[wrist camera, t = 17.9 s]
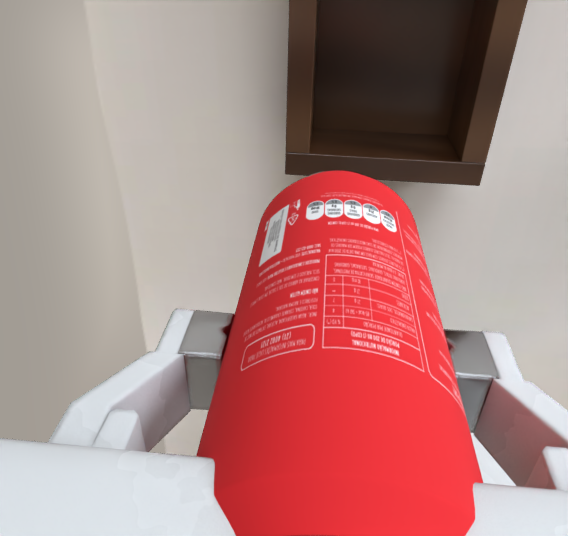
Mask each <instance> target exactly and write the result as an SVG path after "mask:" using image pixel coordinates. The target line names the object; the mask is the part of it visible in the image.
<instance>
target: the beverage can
mask: <svg viewBox="0 0 568 536" xmlns="http://www.w3.org/2000/svg"><path fill="white" fill-rule="evenodd" d="M197 456H198V457H208V458H212V459H213V460H214V462H215V472H214V496H215V498H216V500H217V502H218V504H219V505H220V507H221V509H222V511H223V512H224V514H225V516H226V518H227V519H228V521H229V523H230V525H231V527H232V529H233V530H234V533H235V535H236V536H465V535H466V534H467V532H468V531H469V529H470V528H471V526H472V524H473V523H474V521H475V504H474V495H473V484H474V483H475V482H477V483H483V480H482V476H481V472H480V468H479V464H478V460H477V457H476V453H475V449H474V445H473V441H472V437H471V434H470V430H469V426H468V422H467V418H466V414H465V411H464V407H463V403H462V399H461V395H460V391H459V388H458V384H457V380H456V376H455V372H454V368H453V365H452V361H451V357H450V353H449V349H448V345H447V342H446V338H445V334H444V330H443V326H442V322H441V319H440V315H439V311H438V307H437V303H436V299H435V296H434V292H433V288H432V284H431V280H430V276H429V273H428V269H427V265H426V261H425V257H424V253H423V250H422V246H421V242H420V238H419V234H418V230H417V227H416V223H415V220H414V218H413V215H412V213H411V211H410V210H409V208H408V206H407V205H406V204H405V202H404V201H403V200H402V199H401V198H400V197H399V196H398V195H397V194H396V193H395V192H394V191H393V190H392V189H390V188H389V187H387V186H386V185H384V184H383V183H381V182H379V181H377V180H375V179H373V178H370V177H369V176H366V175H364V174H361V173H358V172H354V171H349V170H326V171H321V172H317V173H314V174H311V175H309V176H307V177H305V178H303V179H301V180H298V181H297V182H295V183H293V184H291V185H290V186H288V187H287V188H285V189H284V190H283V191H281V192H280V193H279V194H278V195H277V196H276V197H275V198H274V199H273V200H272V202H271V203H270V204H269V206H268V207H267V209H266V210H265V212H264V214H263V216H262V218H261V221H260V224H259V227H258V231H257V235H256V238H255V242H254V246H253V249H252V253H251V257H250V260H249V264H248V268H247V271H246V275H245V279H244V283H243V286H242V290H241V294H240V297H239V301H238V305H237V308H236V312H235V316H234V320H233V323H232V327H231V330H230V334H229V338H228V341H227V345H226V349H225V353H224V356H223V360H222V364H221V367H220V371H219V375H218V378H217V382H216V386H215V389H214V393H213V397H212V400H211V404H210V408H209V411H208V415H207V419H206V422H205V426H204V430H203V433H202V437H201V441H200V445H199V448H198V452H197Z"/></svg>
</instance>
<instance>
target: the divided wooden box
mask: <svg viewBox="0 0 568 536" xmlns="http://www.w3.org/2000/svg"><path fill="white" fill-rule="evenodd" d="M527 1H528V0H289V34H288V76H287V118H286V160H285V174H289V175H306V176H309V175H311V174H314V173H317V172H321V171H326V170H349V171H354V172H358V173H361V174H364V175H366V176H369V177H370V178H373V179H375V180H390V181H407V182H424V183H441V184H458V185H475V186H479V185H480V182H481V178H482V174H483V170H484V167H485V162H486V159H487V155H488V151H489V147H490V143H491V140H492V136H493V132H494V128H495V124H496V120H497V116H498V113H499V109H500V105H501V101H502V97H503V93H504V89H505V86H506V82H507V78H508V74H509V70H510V66H511V62H512V59H513V55H514V51H515V47H516V43H517V39H518V35H519V31H520V28H521V24H522V20H523V16H524V12H525V8H526V4H527Z"/></svg>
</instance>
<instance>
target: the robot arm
mask: <svg viewBox="0 0 568 536" xmlns="http://www.w3.org/2000/svg"><path fill="white" fill-rule="evenodd" d="M234 316H235V315H234V314H232V313H221V312H211V311H200V310H196V311H195V310H187V309H175V310H174V311H173V312H172V314H171V317H170V319H169V321H168V323H167V326H166V328H165V330H164V332H163V335H162V337H161V339H160V341H159V344H158V346H157V348H156V351H155V352H150V351H149V352H148V353H146V354H145V355H143V356H142V357H140V358H139V359H137V360H135V361H134V362H132V363H131V364H129V365H128V366H126V367H125V368H123V369H122V370H120V371H119V372H117V373H116V374H114V375H113V376H111V377H110V378H108V379H106V380H105V381H103V382H102V383H100V384H99V385H97V386H96V387H94V388H93V389H91V390H90V391H88V392H87V393H85V394H84V395H82V396H81V397H79V398H78V399H76V400H74V401H73V402H71V403H70V405H69V406H68V408H67V410H66V412H65V413H64V415H63V417H62V419H61V420H60V422H59V424H58V426H57V427H56V429H55V431H54V433H53V434H52V436H51V438H50V440H49V441H48V443H47V442H36V441H25V440H15V439H4V438H0V536H236V535H235V533H234V530H233V529H232V527H231V525H230V523H229V521H228V519H227V518H226V516H225V514H224V512H223V511H222V509H221V507H220V505H219V504H218V502H217V500H216V498H215V496H214V472H215V462H214V460H213V459H212V458H208V457H198V456H187V455H176V454H165V453H155V452H149V451H150V450H151V449H152V448H153V447H154V446H155V445H156V444H157V443H158V442H159V441H160V440H161V439H162V438H163V437H164V436H165V435H166V434H167V433H168V432H169V431H170V430H172V429H173V428H174V427H175V426H176V425H177V424H178V423H179V422H180V421H181V420H182V419H183V418H184V417H185V416H186V415H187V414H188V413H189V412H190V411H191V410H190V409H203V410H209V408H210V404H211V400H212V397H213V393H214V389H215V386H216V382H217V378H218V375H219V371H220V367H221V364H222V360H223V356H224V353H225V349H226V345H227V341H228V338H229V334H230V330H231V327H232V323H233V320H234ZM443 330H444V334H445V338H446V342H447V345H448V349H449V353H450V357H451V361H452V365H453V368H454V372H455V376H456V380H457V384H458V388H459V391H460V395H461V399H462V403H463V407H464V411H465V414H466V418H467V422H468V426H469V430H470V434H471V437H472V441H473V445H474V449H475V453H476V457H477V460H478V464H479V468H480V472H481V476H482V480H483V483H477V482H475V483H474V484H473V495H474V504H475V521H474V523H473V524H472V526H471V528H470V529H469V531H468V532H467V534H466V535H465V536H568V410H566V409H565V408H564V407H562V406H561V405H560V404H559V403H557V402H556V401H555V400H554V399H552V398H551V397H550V396H548V395H547V394H546V393H545V392H543V391H542V390H541V389H539V388H538V387H537V386H536V385H534V384H533V383H532V382H530V381H524V379H523V377H522V374H521V372H520V369H519V367H518V365H517V362H516V360H515V357H514V355H513V353H512V350H511V348H510V345H509V343H508V341H507V338H506V336H505V334H504V333H502V332H489V331H480V332H479V331H465V330H450V329H443Z"/></svg>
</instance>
